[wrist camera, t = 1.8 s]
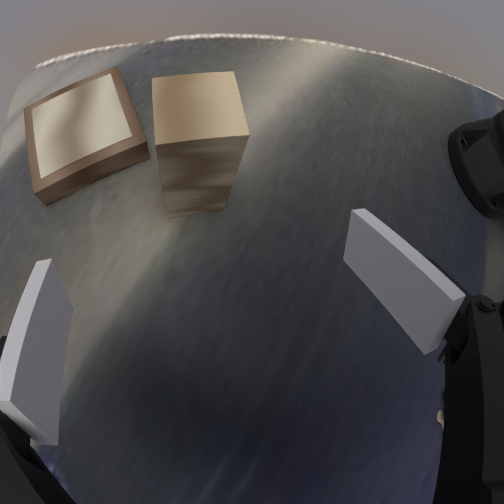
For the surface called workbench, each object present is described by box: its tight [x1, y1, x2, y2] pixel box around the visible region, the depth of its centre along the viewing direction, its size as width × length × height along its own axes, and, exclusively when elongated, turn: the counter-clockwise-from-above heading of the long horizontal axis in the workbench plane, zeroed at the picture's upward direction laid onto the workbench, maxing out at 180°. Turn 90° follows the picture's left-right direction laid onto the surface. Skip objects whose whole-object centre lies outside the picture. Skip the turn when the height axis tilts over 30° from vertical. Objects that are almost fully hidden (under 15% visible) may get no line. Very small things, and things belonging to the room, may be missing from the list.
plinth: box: [24, 66, 150, 206], centre depth 24 cm, size 11×11×3 cm
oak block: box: [152, 72, 250, 218], centre depth 21 cm, size 5×5×12 cm
